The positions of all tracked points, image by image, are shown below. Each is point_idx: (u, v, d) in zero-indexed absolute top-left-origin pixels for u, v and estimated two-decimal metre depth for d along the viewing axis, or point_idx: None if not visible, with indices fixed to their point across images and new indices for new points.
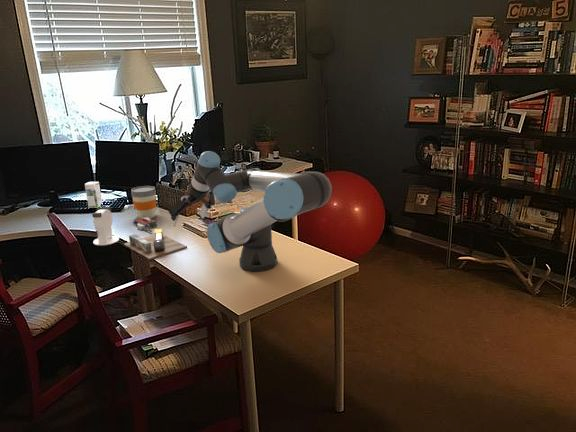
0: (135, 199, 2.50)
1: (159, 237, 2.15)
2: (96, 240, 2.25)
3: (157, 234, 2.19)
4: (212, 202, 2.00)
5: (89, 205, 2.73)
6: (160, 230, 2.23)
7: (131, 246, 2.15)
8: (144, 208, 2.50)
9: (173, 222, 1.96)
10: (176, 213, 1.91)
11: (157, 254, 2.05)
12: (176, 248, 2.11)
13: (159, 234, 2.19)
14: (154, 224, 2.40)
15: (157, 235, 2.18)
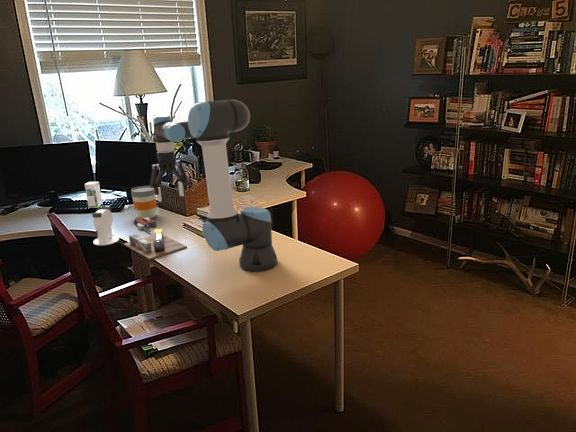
0: (135, 199, 2.50)
1: (159, 237, 2.15)
2: (96, 240, 2.25)
3: (157, 234, 2.19)
4: (184, 175, 2.24)
5: (89, 205, 2.73)
6: (160, 230, 2.23)
7: (131, 246, 2.15)
8: (144, 208, 2.50)
9: (158, 198, 2.18)
10: (156, 184, 2.15)
11: (157, 254, 2.05)
12: (176, 248, 2.11)
13: (159, 234, 2.19)
14: (154, 224, 2.40)
15: (157, 235, 2.18)
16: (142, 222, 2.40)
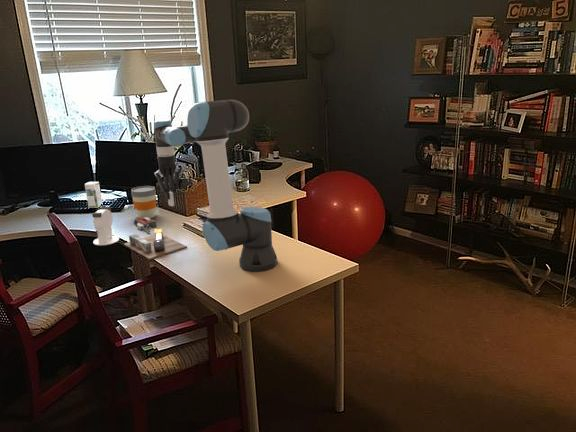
0: (135, 199, 2.50)
1: (159, 237, 2.15)
2: (96, 240, 2.25)
3: (157, 234, 2.19)
4: (177, 184, 2.22)
5: (89, 205, 2.73)
6: (160, 230, 2.23)
7: (131, 246, 2.15)
8: (144, 208, 2.50)
9: (170, 202, 2.23)
10: (168, 189, 2.20)
11: (157, 254, 2.05)
12: (176, 248, 2.11)
13: (159, 234, 2.19)
14: (153, 224, 2.40)
15: (157, 235, 2.18)
16: (142, 222, 2.40)
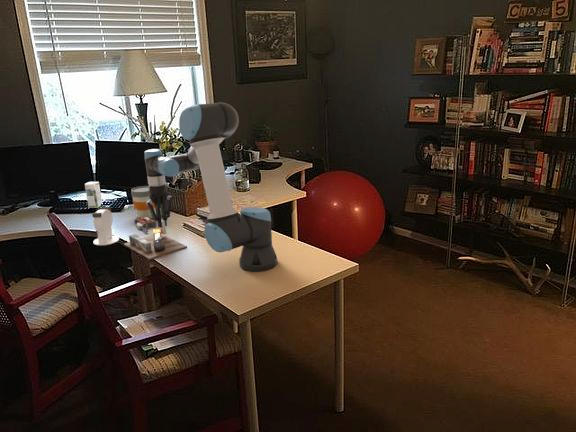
0: (135, 199, 2.50)
1: (158, 237, 2.15)
2: (96, 240, 2.25)
3: (156, 234, 2.19)
4: (168, 212, 2.23)
5: (89, 205, 2.73)
6: (158, 230, 2.23)
7: (131, 246, 2.15)
8: (144, 208, 2.50)
9: (162, 230, 2.23)
10: None
11: (157, 254, 2.05)
12: (176, 248, 2.11)
13: (158, 234, 2.19)
14: (153, 224, 2.40)
15: (156, 235, 2.17)
16: (142, 222, 2.41)
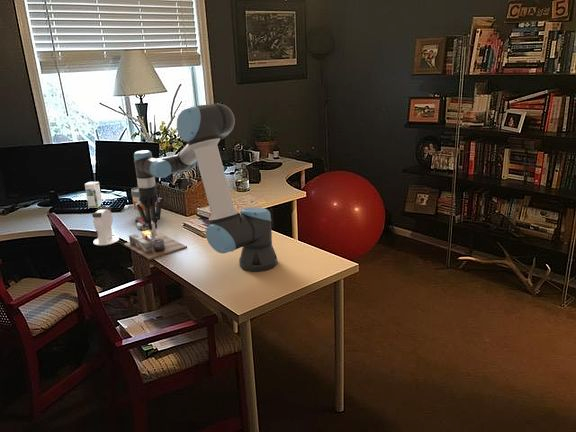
0: (135, 199, 2.50)
1: (154, 238, 2.14)
2: (96, 240, 2.25)
3: (149, 236, 2.17)
4: (159, 214, 2.20)
5: (89, 205, 2.73)
6: (148, 232, 2.21)
7: (131, 246, 2.15)
8: (144, 208, 2.50)
9: (152, 233, 2.20)
10: (149, 220, 2.17)
11: (157, 254, 2.05)
12: (176, 248, 2.11)
13: (151, 235, 2.17)
14: None
15: (150, 236, 2.16)
16: (142, 221, 2.41)
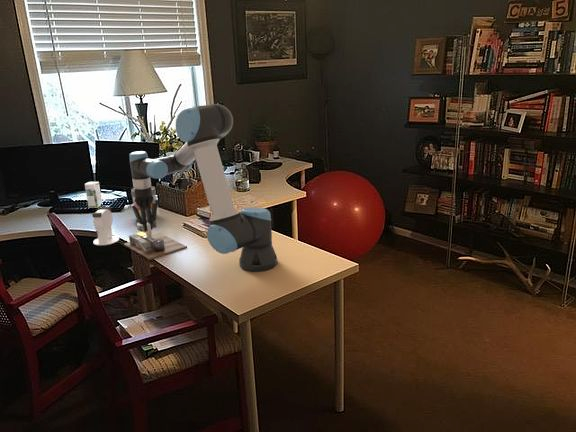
0: None
1: (151, 238, 2.14)
2: (96, 240, 2.25)
3: (145, 237, 2.16)
4: (154, 215, 2.18)
5: (89, 205, 2.73)
6: (143, 233, 2.20)
7: (131, 246, 2.15)
8: None
9: None
10: None
11: (157, 254, 2.05)
12: (176, 248, 2.11)
13: (147, 236, 2.17)
14: (152, 224, 2.40)
15: (147, 237, 2.15)
16: None
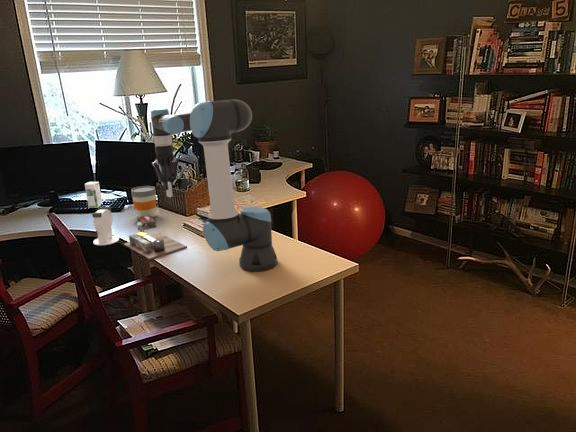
0: (135, 199, 2.50)
1: (151, 238, 2.14)
2: (96, 240, 2.25)
3: (145, 237, 2.16)
4: (175, 174, 2.19)
5: (89, 205, 2.73)
6: (143, 233, 2.20)
7: (131, 246, 2.15)
8: (144, 208, 2.50)
9: (168, 193, 2.19)
10: None
11: (157, 254, 2.05)
12: (176, 248, 2.11)
13: (147, 236, 2.17)
14: (152, 224, 2.40)
15: (147, 237, 2.15)
16: (142, 221, 2.42)
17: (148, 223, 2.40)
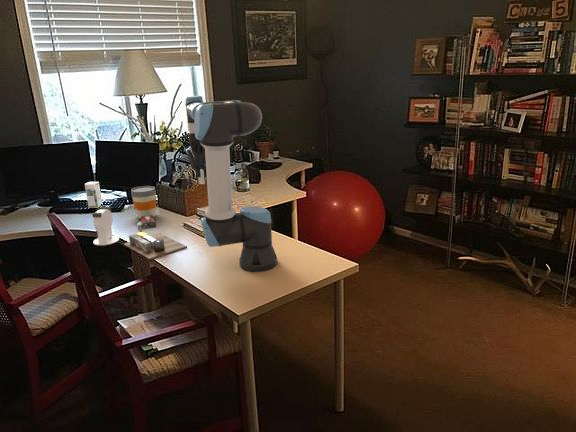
0: (135, 199, 2.50)
1: (151, 238, 2.14)
2: (96, 240, 2.25)
3: (145, 237, 2.16)
4: None
5: (89, 205, 2.73)
6: (143, 233, 2.20)
7: (131, 246, 2.15)
8: (144, 208, 2.50)
9: (200, 180, 2.21)
10: None
11: (157, 254, 2.05)
12: (176, 248, 2.11)
13: (147, 236, 2.17)
14: (152, 224, 2.40)
15: (147, 237, 2.15)
16: (142, 221, 2.42)
17: (148, 223, 2.40)
